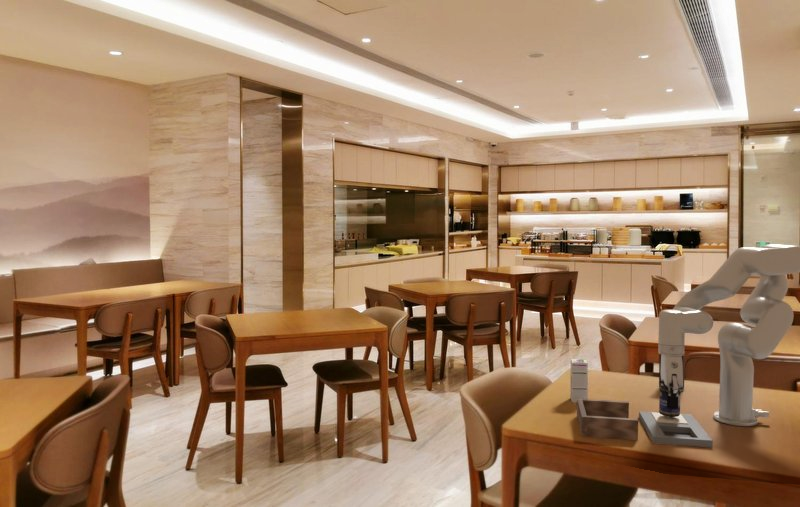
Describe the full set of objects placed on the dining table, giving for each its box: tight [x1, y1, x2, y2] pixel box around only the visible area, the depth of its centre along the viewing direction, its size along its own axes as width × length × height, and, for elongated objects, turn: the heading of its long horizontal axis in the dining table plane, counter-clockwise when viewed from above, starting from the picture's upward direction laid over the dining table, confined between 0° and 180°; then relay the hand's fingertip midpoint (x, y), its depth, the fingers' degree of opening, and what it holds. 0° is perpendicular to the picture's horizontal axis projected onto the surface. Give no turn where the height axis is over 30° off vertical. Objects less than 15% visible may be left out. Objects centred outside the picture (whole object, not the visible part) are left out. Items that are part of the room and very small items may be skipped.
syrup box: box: [570, 358, 589, 404], centre depth 221 cm, size 6×6×14 cm
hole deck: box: [638, 410, 714, 448], centre depth 190 cm, size 16×24×2 cm, turn 168°
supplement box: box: [658, 347, 686, 392], centre depth 236 cm, size 9×5×16 cm, turn 58°
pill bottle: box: [658, 380, 682, 417], centre depth 195 cm, size 6×6×11 cm
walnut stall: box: [576, 398, 639, 441], centre depth 193 cm, size 16×19×6 cm
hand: (669, 404), depth 195 cm, fingers closed on pill bottle, 6 cm apart
